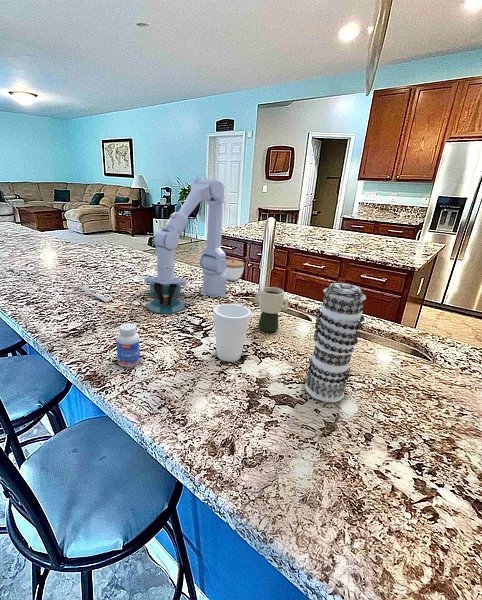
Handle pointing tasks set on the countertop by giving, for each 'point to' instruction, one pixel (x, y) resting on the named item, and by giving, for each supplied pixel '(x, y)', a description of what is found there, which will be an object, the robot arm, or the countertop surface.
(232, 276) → the trinket box
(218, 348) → the foam cup
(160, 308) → the lid
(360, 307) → the leaning tower model
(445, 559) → the countertop surface
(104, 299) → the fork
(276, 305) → the character mug
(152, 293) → the bowl
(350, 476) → the countertop surface
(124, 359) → the pill bottle
